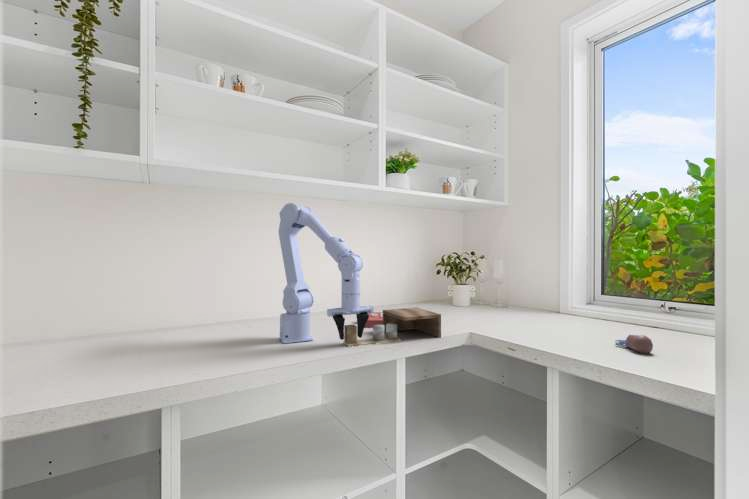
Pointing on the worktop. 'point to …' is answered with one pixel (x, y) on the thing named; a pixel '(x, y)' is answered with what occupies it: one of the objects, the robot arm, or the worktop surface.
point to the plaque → (374, 319)
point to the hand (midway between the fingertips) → (350, 337)
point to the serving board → (378, 335)
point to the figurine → (637, 343)
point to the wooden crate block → (413, 320)
